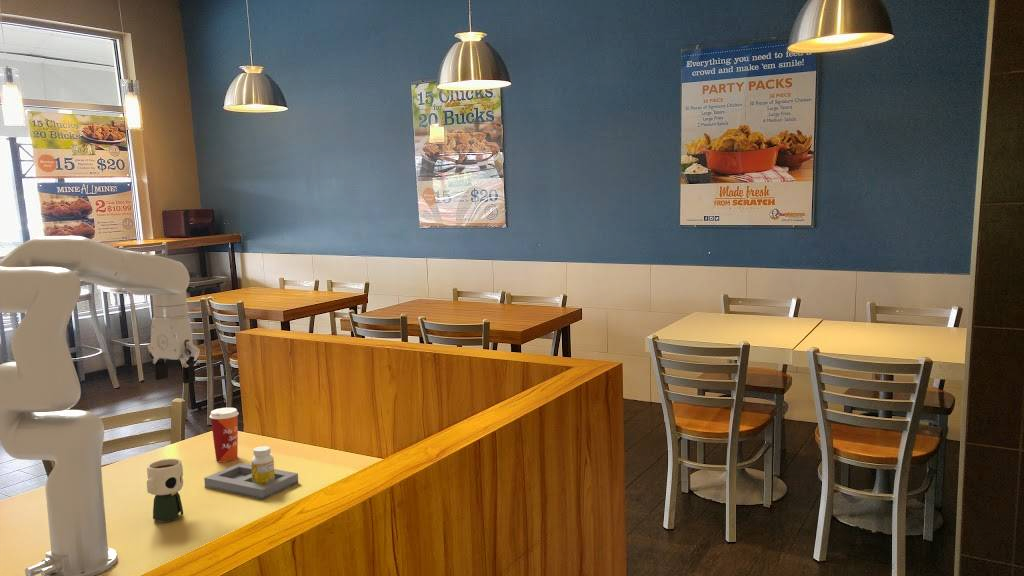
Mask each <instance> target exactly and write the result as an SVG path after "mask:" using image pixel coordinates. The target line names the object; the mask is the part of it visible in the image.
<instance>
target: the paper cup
mask: <svg viewBox="0 0 1024 576" xmlns="http://www.w3.org/2000/svg"><path fill="white" fill-rule="evenodd" d="M239 414H240V413H239V412H238V409H237V408H235V407H221V408H216V409H213V410H211V411H210V415H209V418H210V422H211V429H212V437H213V444H214V446H213V447H214V453H215V459H216V461H217V462H218V461H220V462H219V463H225V462H224V461H229V462H231V461H230V460H233V461H235V460H237V459H238V449H239V448H238V445H239V443H238V442H239V441H238V437H239V436H238V435H239V434H238V432H239V430H238V422H239V421H238V420H239V419H238V416H239ZM236 458H237V459H236ZM234 459H235V460H234Z"/></svg>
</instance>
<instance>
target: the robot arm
mask: <svg viewBox="0 0 1024 576" xmlns="http://www.w3.org/2000/svg"><path fill="white" fill-rule="evenodd" d="M190 279H191V278H190V274H189V271H188V269H187V268H186V266H185V265H184V263H182V262H181V261H177V260H175V259H171V258H168V257H165V256H160V255H154V254H149V253H142V252H138V251H132V250H129V249H121V248H118V247H115V246H112V245H109V244H106V243H103V242H101V241H100V242H99V241H98V240H97V241H96V240H94V239H91V238H88V237H85V236H79V235H52V236H51V235H50V236H47V235H46V236H35V237H31V238H29V239H28V240H26V241H24V242H23V243H21V244H20V245H18V246H17V247H15V248H13V250H11V251H10V252H9V253H7V255H5V256H3V257H2V258H1V259H0V314H25V315H24V316H23V317H22V320H21V321H20V323H19V324H18V326H17V327H16V330H15V331H14V332H13V335H12V338H11V344H10V345H11V346H10V347H11V352H12V356H13V359H14V361H8V362H3V363H1V364H0V444H1V447H2V449H3V450H4V452H5V453H6V455H8V456H9V457H11V458H13V459H16V460H21V461H22V460H24V461H54V467H53V468H52V470H51V471H50V473H49V475H48V476H47V479H46V482H45V486H44V487H45V489H44V490H45V498H46V507H47V509H46V510H47V519H48V529H49V541H50V551H47V552H45V558H43V559H42V560H41V562H39V563H38V562H37V563H35V564H33V565H30V566H27V567H26V568H25V570H24V574H25V576H38V575H41V576H97V575H100V574H101V573H103V572H105V571H107V570H109V569H111V567H113V566H114V565H115V564H116V563H117V561H118V552H117V551H116V550H115V549H113V548H111V547H108V545H109V544H108V536H107V532H108V531H107V522H106V510H105V499H104V487H103V476H102V475H103V472H102V455H103V448H104V447H103V446H104V445H103V444H104V440H105V439H104V438H105V427H104V423H103V420H102V419H101V418H100V417H99V416H98V415H97V414H96V413H94V412H91V411H88V410H83V409H71V408H73V407H74V406H76V405H77V404H78V402H79V400H80V398H81V396H82V395H81V393H82V390H81V384H80V380H79V376H78V373H77V371H76V367H75V364H74V362H73V359H72V355H71V352H70V349H69V345H68V342H67V335H66V334H67V328H68V324H69V321H70V318H71V316H72V315H73V312H74V310H75V307H76V306H77V304H78V302H79V299H80V297H81V291H82V288H81V287H82V286H81V285H82V283H81V282H84V283H89V284H94V285H97V286H101V287H106V288H109V289H110V288H114V289H124V290H125V291H126V292H127V293H129V294H131V295H135V296H152V311H153V317H152V319H151V325H150V343H149V344H148V345H147V349H148V352H149V356H150V357H151V359H152V364H154V374H155V375H154V376H155V380H156V381H160V380H164V379H165V380H166V379H168V378H169V367H168V361H166V360H170V361H171V360H173V361H174V360H175V361H176V360H179V361H180V363H181V364H182V365H183V367H181V373H182V374H181V375H182V383H183V384H190V383H193V382H195V381H196V370H195V369H196V367H195V366H196V365H197V362H198V360H199V355H200V352H201V349H200V348H199V347H198V346H196V345H195V344H194V340H193V333H192V326H191V323H190V318H189V314H188V299H187V289H188V287H189V286H190V285H189V284H190V281H191V280H190Z"/></svg>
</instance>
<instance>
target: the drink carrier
mask: <svg viewBox="0 0 1024 576" xmlns="http://www.w3.org/2000/svg"><path fill="white" fill-rule="evenodd" d="M274 475H275V480H274V481H272V482H270V483H268V484H266V485H262V484H257V483H253V482H252V465H251V464H250V463H244V462H239V463H237V464H235V465H232V466H230V467H227V468H225V469H222V470H219V471H217V472H215V473H212V474H210V475H207V476H205V477H204V478H203V480H204V488H206V489H211V490H216V491H221V492H226V493H231V494H235V495H241V496H244V497H248V498H253V499H256V500H257V499H258V500H266V499H268V498H270V497H273V496H274V495H277V494H278V493H281V492H282V491H285V490H288V489H289V488H290V487H291V488H292V486H295V485H297V484H299V473H298V472H292V471H287V470H282V469H276V468H274Z"/></svg>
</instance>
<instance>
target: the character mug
mask: <svg viewBox="0 0 1024 576" xmlns="http://www.w3.org/2000/svg"><path fill="white" fill-rule="evenodd" d="M183 468H184V467H183V464H182V460H181V459H178V458H166V459H165V458H163V459H159V460H156V461H152V462H150V463H149V464H147V465H146V473H147V480H146V490H147V491H146V492H147V493H148V494H150V495H153V496H154V498H153V505H152V506H153V507H152V519H153V521H159V522H164V523H165V522H171V521H174V520H177V519H179V514H180V516H181V517H182V516H183V515H184V508H183V504H182V499H181V495H180V493H179V492H180V491H181V490H182V489H183V487H184V478H183V476H184V469H183Z"/></svg>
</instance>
